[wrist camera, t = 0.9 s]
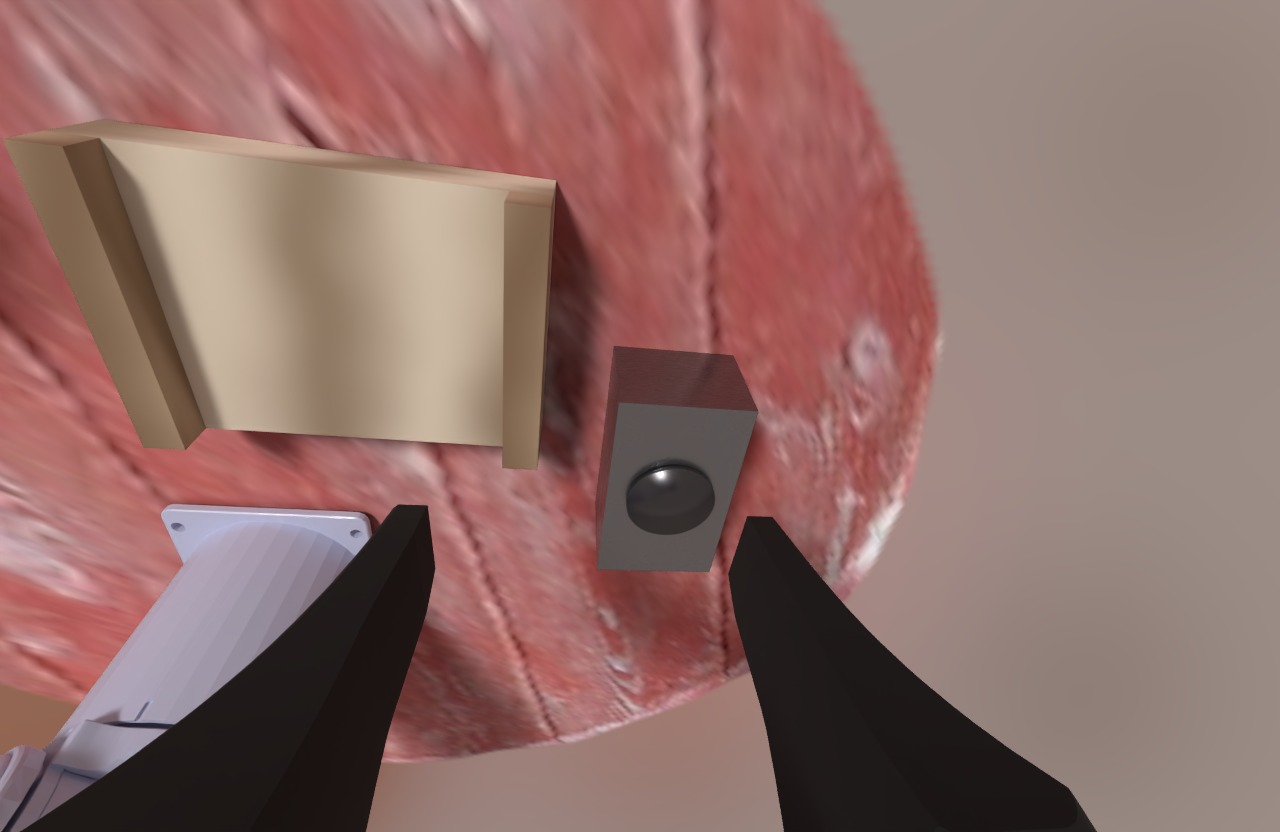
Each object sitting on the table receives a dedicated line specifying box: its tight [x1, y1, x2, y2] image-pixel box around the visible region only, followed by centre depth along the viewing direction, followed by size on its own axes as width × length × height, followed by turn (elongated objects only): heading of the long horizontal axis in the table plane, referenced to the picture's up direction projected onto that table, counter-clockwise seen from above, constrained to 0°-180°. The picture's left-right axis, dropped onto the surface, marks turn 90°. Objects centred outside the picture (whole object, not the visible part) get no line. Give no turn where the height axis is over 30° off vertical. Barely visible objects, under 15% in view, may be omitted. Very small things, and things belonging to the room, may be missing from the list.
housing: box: [595, 346, 758, 572], centre depth 22 cm, size 8×5×4 cm, turn 172°
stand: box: [3, 120, 556, 470], centre depth 17 cm, size 12×9×3 cm
